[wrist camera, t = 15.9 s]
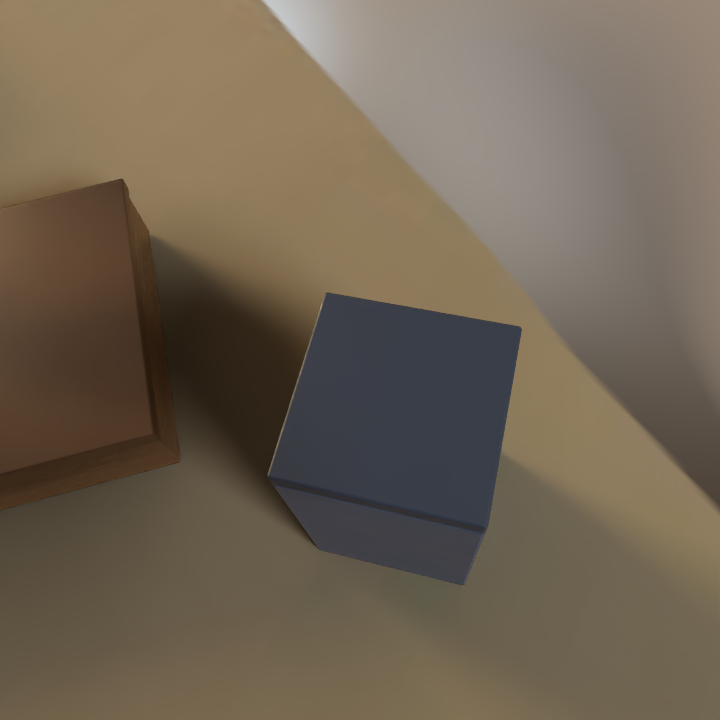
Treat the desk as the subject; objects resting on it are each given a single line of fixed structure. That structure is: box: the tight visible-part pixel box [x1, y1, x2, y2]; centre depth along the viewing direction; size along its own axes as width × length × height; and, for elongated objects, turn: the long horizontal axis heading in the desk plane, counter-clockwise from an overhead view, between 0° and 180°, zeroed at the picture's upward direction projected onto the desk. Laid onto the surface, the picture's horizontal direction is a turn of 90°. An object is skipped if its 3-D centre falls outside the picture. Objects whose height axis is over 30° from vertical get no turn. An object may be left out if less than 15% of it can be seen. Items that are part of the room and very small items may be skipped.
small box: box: [267, 293, 522, 585], centre depth 18 cm, size 5×5×8 cm
